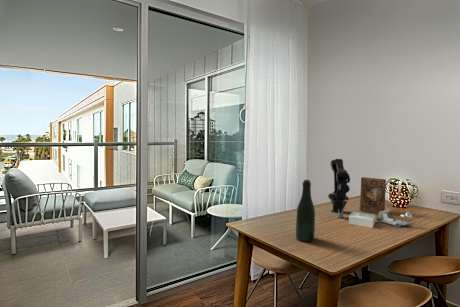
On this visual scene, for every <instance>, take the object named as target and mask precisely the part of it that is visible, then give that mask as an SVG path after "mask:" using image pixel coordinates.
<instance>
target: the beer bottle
mask: <svg viewBox="0 0 460 307" xmlns="http://www.w3.org/2000/svg"><path fill="white" fill-rule="evenodd" d="M311 186H312V182H311V180H310V179H303V182H302V190H301V197H300V200H299V202H298V205H297V207H296V215H295V231H294V232H295V235H294V237H295V239H296V240H298V241H300V242H303V243H311V242H313V241H315V238H316V210H315V209H316V208H315V205H314V202H313V200H312V194H311Z"/></svg>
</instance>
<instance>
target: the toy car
mask: <svg viewBox="0 0 460 307" xmlns="http://www.w3.org/2000/svg"><path fill="white" fill-rule="evenodd" d="M400 217H401V219H400V220H399V219H398V218H397V216H394V217H392V214H391V212H390V210H389V209H385V210H384V211H380V212H379V214H378V217H377V218H375V221H376V222H378V223H381V222H382V223H386V224H389V225H392V226H395V228H398V229H400V228H401V226H409V225H411V222H410V220H407V218H412V217H413V216H412V212H409V211H406V212H405V214H403V213H402V214H400ZM404 218H405V220H404Z"/></svg>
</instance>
